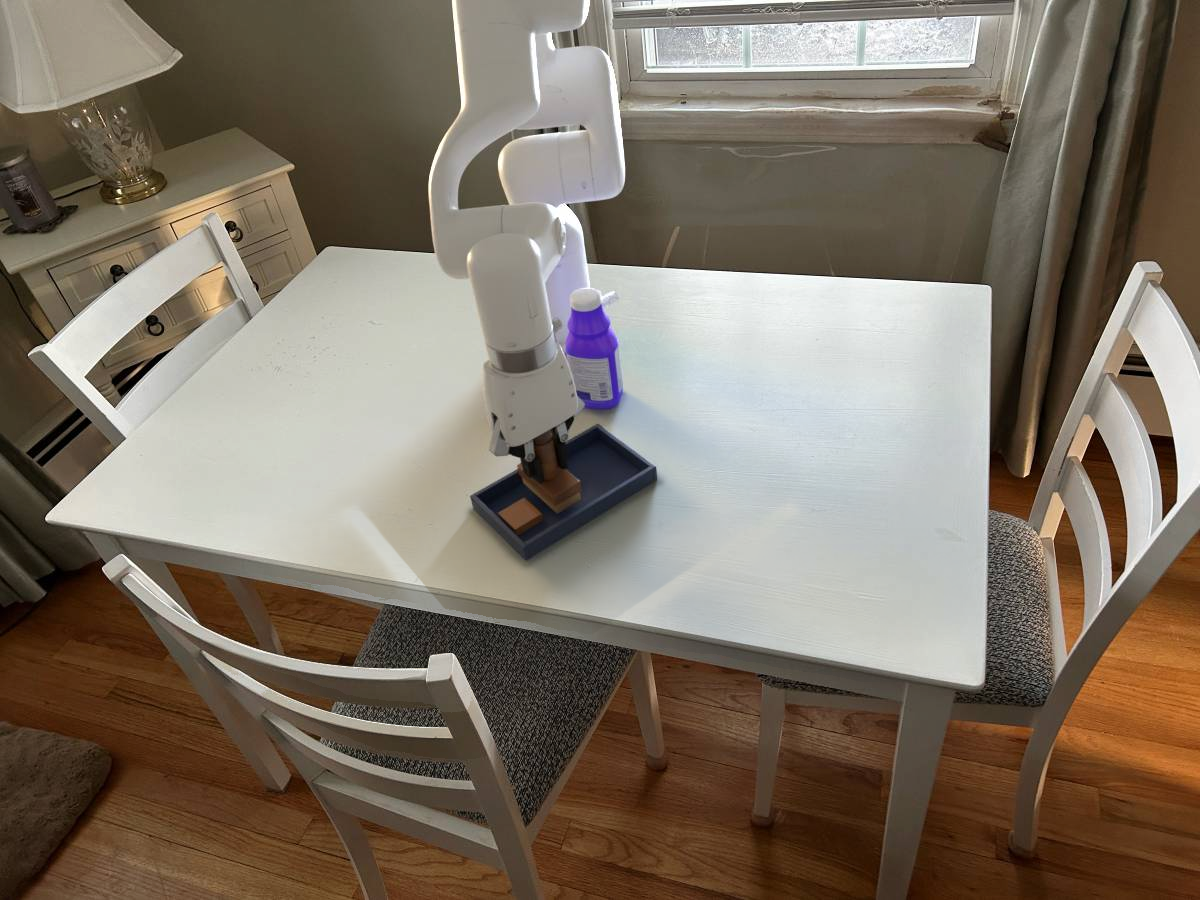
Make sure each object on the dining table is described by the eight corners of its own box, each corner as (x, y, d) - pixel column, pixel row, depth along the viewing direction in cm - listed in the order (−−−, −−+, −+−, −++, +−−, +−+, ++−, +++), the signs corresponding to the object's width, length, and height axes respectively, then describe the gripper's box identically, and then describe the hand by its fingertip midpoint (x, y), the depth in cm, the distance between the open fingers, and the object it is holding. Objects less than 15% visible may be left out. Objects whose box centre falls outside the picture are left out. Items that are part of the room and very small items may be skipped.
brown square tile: (525, 504, 114) (524, 497, 113) (543, 520, 111) (542, 513, 110) (499, 519, 112) (497, 512, 111) (516, 536, 110) (515, 529, 109)
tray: (600, 438, 123) (597, 423, 121) (657, 482, 115) (656, 466, 113) (474, 511, 115) (469, 495, 113) (526, 563, 107) (522, 547, 105)
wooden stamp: (546, 468, 116) (532, 401, 109) (583, 499, 111) (571, 431, 104) (520, 483, 115) (505, 415, 107) (557, 515, 109) (542, 447, 102)
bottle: (629, 391, 130) (617, 285, 119) (617, 415, 126) (603, 308, 115) (582, 386, 132) (565, 281, 121) (569, 409, 128) (550, 304, 117)
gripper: (561, 303, 104) (582, 426, 116) (440, 364, 98) (475, 487, 110) (601, 328, 99) (618, 453, 111) (475, 394, 93) (508, 519, 105)
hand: (546, 469), depth 110 cm, fingers closed on wooden stamp, 2 cm apart
